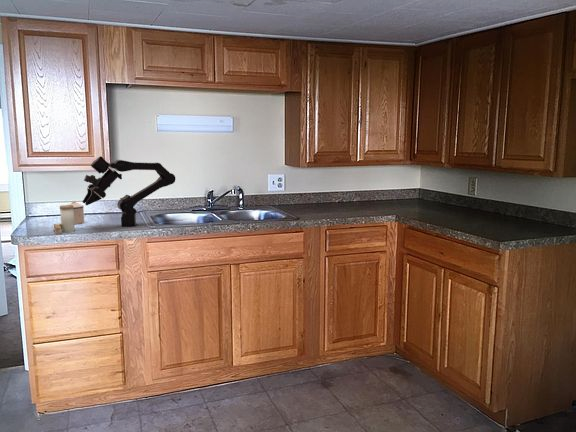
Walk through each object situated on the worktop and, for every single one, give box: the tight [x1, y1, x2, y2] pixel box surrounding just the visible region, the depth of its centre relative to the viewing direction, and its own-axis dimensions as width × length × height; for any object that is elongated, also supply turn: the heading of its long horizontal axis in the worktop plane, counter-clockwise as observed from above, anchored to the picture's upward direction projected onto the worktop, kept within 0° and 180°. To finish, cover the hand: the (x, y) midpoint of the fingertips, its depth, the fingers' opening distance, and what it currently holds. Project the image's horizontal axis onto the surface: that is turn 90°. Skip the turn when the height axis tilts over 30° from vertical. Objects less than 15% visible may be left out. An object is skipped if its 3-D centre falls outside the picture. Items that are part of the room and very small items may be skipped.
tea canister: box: [59, 204, 75, 233], centre depth 242 cm, size 6×6×12 cm
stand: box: [53, 223, 75, 235], centre depth 242 cm, size 9×12×3 cm
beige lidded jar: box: [68, 200, 85, 225], centre depth 262 cm, size 12×9×12 cm
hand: (84, 203), depth 245 cm, fingers open, 9 cm apart
